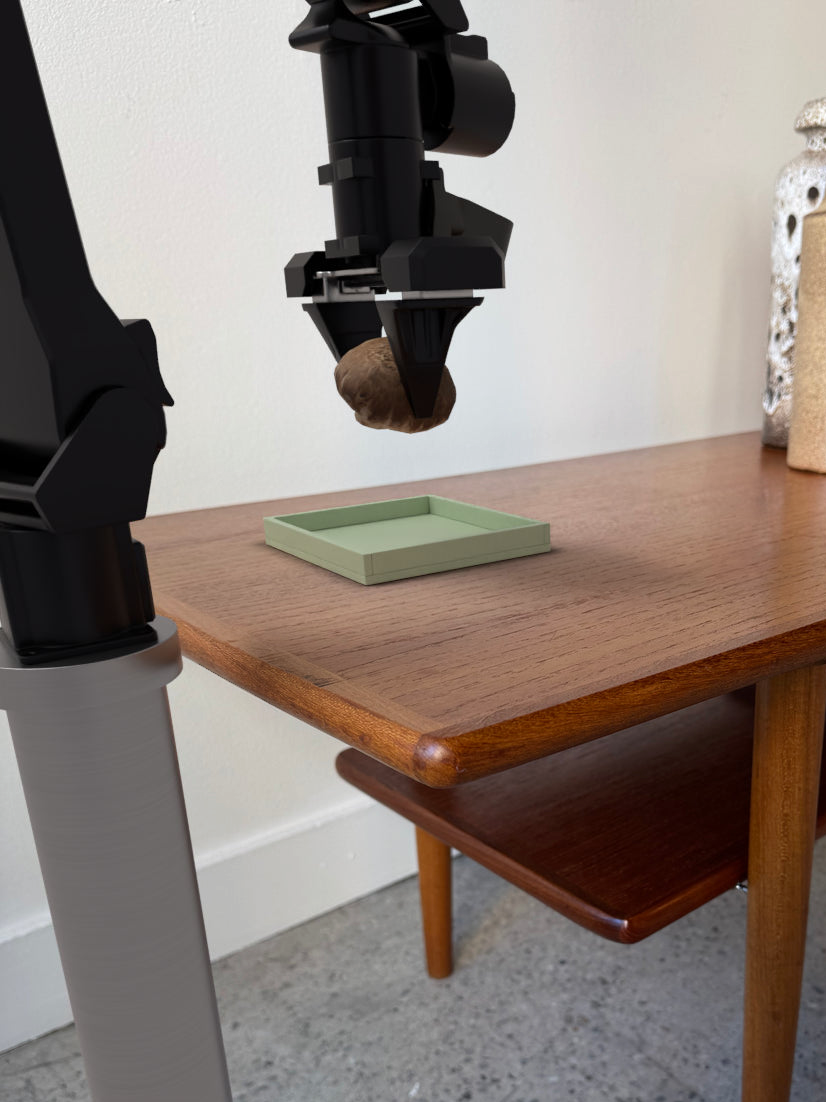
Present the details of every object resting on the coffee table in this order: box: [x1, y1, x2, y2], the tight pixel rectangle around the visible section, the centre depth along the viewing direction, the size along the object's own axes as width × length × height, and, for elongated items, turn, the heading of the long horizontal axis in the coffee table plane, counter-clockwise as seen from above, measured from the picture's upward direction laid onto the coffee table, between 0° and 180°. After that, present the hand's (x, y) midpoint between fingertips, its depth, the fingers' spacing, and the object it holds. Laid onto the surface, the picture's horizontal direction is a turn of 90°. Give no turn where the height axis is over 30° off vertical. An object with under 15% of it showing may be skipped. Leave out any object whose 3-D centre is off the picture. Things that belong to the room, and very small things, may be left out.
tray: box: [262, 493, 552, 586], centre depth 79 cm, size 15×17×2 cm
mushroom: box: [333, 336, 457, 435], centre depth 67 cm, size 8×8×6 cm
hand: (396, 414), depth 68 cm, fingers closed on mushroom, 7 cm apart
